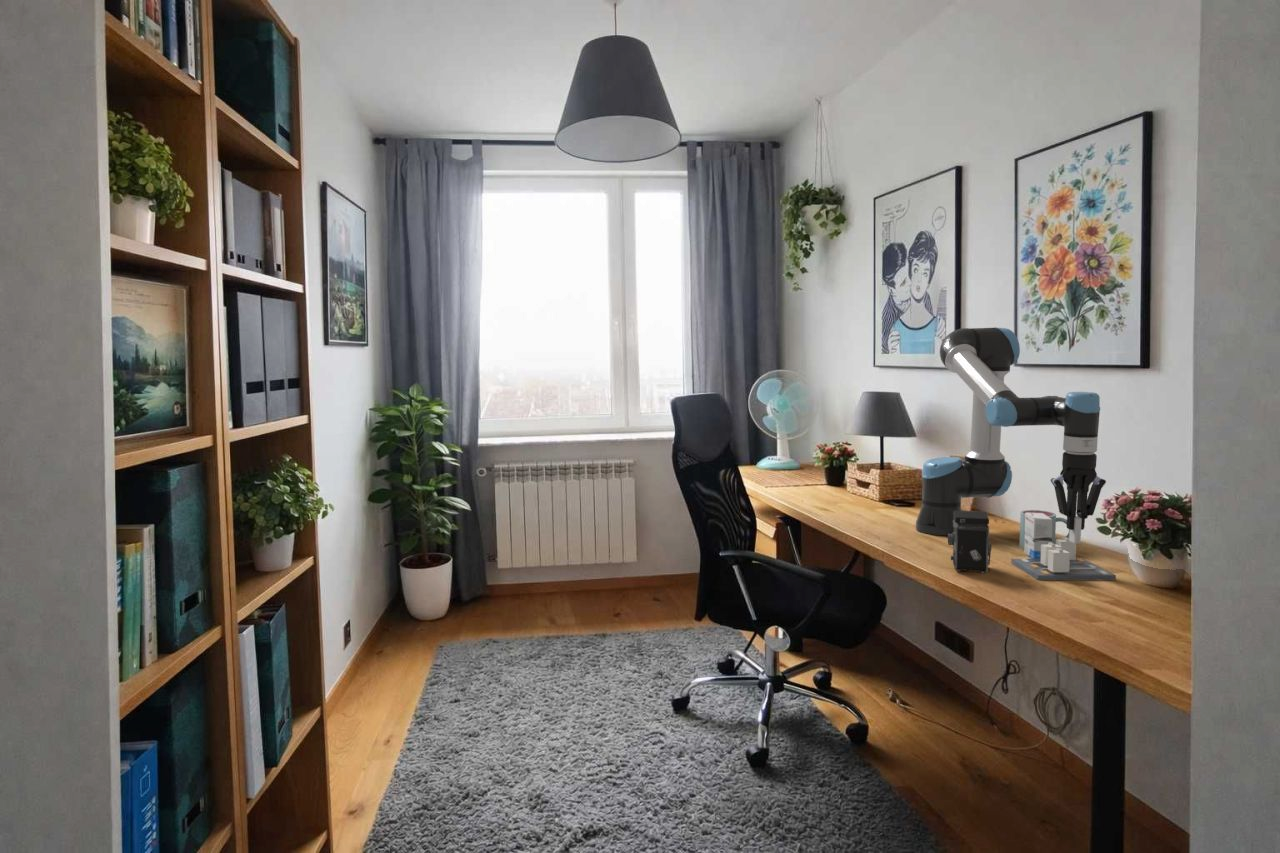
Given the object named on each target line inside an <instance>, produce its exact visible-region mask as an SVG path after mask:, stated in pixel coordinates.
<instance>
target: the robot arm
mask: <svg viewBox="0 0 1280 853" xmlns="http://www.w3.org/2000/svg"><path fill="white" fill-rule="evenodd" d="M1020 348H1021V346H1020V342H1019V339H1018V337H1017V335H1016V334H1015V332H1014V331H1012V330H1011V329H1009V328H1006V327H979V328H977V327H975V328H974V327H973V328H972V327H970V328H967V327H965V328H964V327H963V328H958V329H956V330H953V331H952V332H950V333H949V334H947V335H946V336H945V337H944V338H943V341H942V342H941V344H940V347H939V357H940V360H941V362H942V364H943V365H944V367H945V368H946V369H947V370H948V371H950V372H952V373H955V374H956V375H958V377H960V379H961V380H962V381H963V382H964V383H965V384H966V385H967V386H968V388H969V389H970V390H971V391H972V392H973V394H972V411H971V412H972V413H971V430H970V446H969V447H970V449H969V450H968V451H967V452H966V453H965V454H964V461H963V460H962V458H961V457H957V456H941V457H935V458H930V459H928V460H927V461H925V462H924V463H923V466H922V472H921V481H922V482H921V483H922V484H921V485H922V486H921V488H922V489H921V490H922V491H921V495H922V496H921V507H920V509H919V513H918V516H917V518H916V520H915V530H917V531H918V532H920V533H924V534H929V535H934V536H935V535H936V536H948V534H952V533H953V532H954V527H953V520H954V516H953V512H954V511H956V510H957V511H963V510H962V499H964V498H966V499H967V498H987V499H988V498H993V497H1000V496H1003V495H1004V494H1005V493H1006V492H1008V491H1009V489H1010V487H1011V485H1012V480H1013V471H1012V467H1011V464H1009V462H1008V461H1006V460H1005V455H1004V454H1003V453H1002V452H1001V451H1000V450H1001V437H1002V436H1001V434H1002V427H1004V428H1005V427H1006V428H1007V427H1008V428H1009V427H1021V426H1022V427H1023V426H1024V427H1027V426H1059V427H1064V430H1063V442H1062V444H1063V445H1062V450H1063V451H1064V452H1063V453H1062V462H1061V464H1062V470H1061V471H1060V473H1059V475H1058V476H1057V477H1056V478H1055V477H1052V478H1051V479H1050V482H1051V483H1052V485H1053V487H1054V491H1055V496H1056V502H1057V506H1058V512H1059V513H1060V514H1061V515H1062V516H1066V519H1067V525H1066V528H1067V530H1068V533H1069V540H1070V541H1071V542H1073V543H1076V544H1081V540H1082V539H1081V536H1082V530H1084V529H1085V522H1086V519H1088V517H1089V516H1093V515H1094V514H1095V510H1096V507H1097V503H1098V501H1099V496H1100V494H1101V491H1102V489H1103V487H1104V486H1105V485H1106V483H1107V480H1106V479H1103V478H1101V477H1099V476H1098V474H1097V471H1096V469H1097V468H1096V467H1097V461H1098V460H1097V454H1096V453H1097V451H1098V439H1099V438H1098V437H1099V435H1098V434H1099V425H1100V414H1101V412H1100V411H1101V407H1100V405H1101V404H1100V401H1101V400H1100V399H1101V398H1100V395H1099V394H1098V393H1097V392H1092V391H1070V392H1068V393H1067V394H1066V395H1065V397H1061V396H1057V395H1044V396H1041V397H1040V396H1039V397H1019V396H1017V394H1016V393H1015V392H1014V391H1012V389H1010V388H1009V386H1007V384H1005V377H1006V376H1007V375H1008V374H1009V373H1010V372H1011V366H1013V365H1014V364H1016V363H1017V362H1018V360H1019V358H1020V353H1021V349H1020ZM1064 483H1065V484H1066V491H1067V494H1066V492H1065V487H1064V486H1063V485H1064ZM1091 484H1092V485H1091ZM1090 486H1091V487H1090ZM1066 495H1067V496H1066ZM1069 529H1070V531H1069Z"/></svg>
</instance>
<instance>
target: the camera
mask: <svg viewBox="0 0 1280 853" xmlns="http://www.w3.org/2000/svg"><path fill="white" fill-rule="evenodd" d="M953 516H954V520H953V527H954V532H953V533H952V534H948V535H947V545H948V546H952V547H953V548H952V555H950V561H952V564H953V568H954V570H956V571H957V572H958V571H959V572H960V571H969V572H971V571H972V572H981V574H984V573H987V572H988V570H989V569H988V568H989V566H990V565H991V564H990V563H991V555H992V554H991V552H992V544H991V543H990V527H989V524H990V519H989V517H988V515H987V512H986V511H978V510H977V511H976V510H975V511H974V510H962V511H957V510H956V511H954V512H953Z"/></svg>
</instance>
